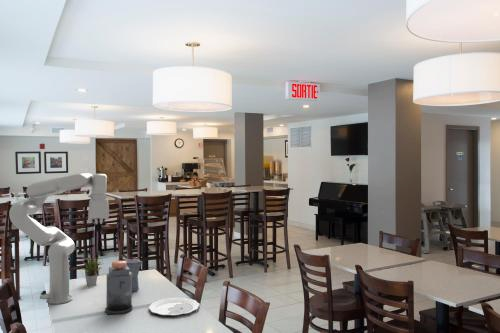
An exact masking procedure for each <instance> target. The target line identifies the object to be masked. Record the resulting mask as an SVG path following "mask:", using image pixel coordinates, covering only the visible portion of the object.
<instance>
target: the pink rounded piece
mask: <svg viewBox="0 0 500 333" xmlns="http://www.w3.org/2000/svg"><path fill="white" fill-rule="evenodd" d="M126 266H127V262H126V261H119V260H116V261H112V262H111V267H112V268H117V269H121V268H124V267H126Z"/></svg>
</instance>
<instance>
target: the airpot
mask: <svg viewBox="0 0 500 333" xmlns="http://www.w3.org/2000/svg"><path fill="white" fill-rule="evenodd" d="M132 295H133V294H132V273H131V272H130V269H129V268H128V267H127V266H126V267H124V268H121V269H117V268H112V266H109V267H108V273H107V274H106V301H105V302H106V305H105V313H106V314H107V315H110V316H111V315H112V316H119V315H125V314H128V313H131V312H132V311H133V309H134V307H133V304H132V302H133V300H132V299H133V298H132V297H133V296H132Z"/></svg>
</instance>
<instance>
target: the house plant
mask: <svg viewBox="0 0 500 333" xmlns="http://www.w3.org/2000/svg"><path fill="white" fill-rule="evenodd" d="M99 260H100V258H99V259H97V258H95V259H94V261H93V262H92V258H91V257H90V258H89V259H88V258H87V262H86V263H85V262H84V261H82V263H83V265H84V266H85V267H86V268H84V267H83V268H81V270H83V271H85V276H84V278H85V281H86V282H85V283H86V286H87V287H95V286H97V280H98V275H99V274H98V273H96V272H97V271H99V272H101V270H102V267H101V265H102V264H103V260H101V261H99ZM99 266H100V267H99Z"/></svg>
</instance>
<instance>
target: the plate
mask: <svg viewBox="0 0 500 333" xmlns="http://www.w3.org/2000/svg"><path fill="white" fill-rule="evenodd" d="M182 303H188V304H191V305H192V306H193V309H192V310H191V311H189V312H186V313H181V314H168V313H169V312H170V311H171V310H169V309H170V308H174V305H176V304H182ZM200 305H201V304H200V303H199V302H198V301H197V300H195V299H191V298H189V297H169V298H161V299H159V300H156V301H154V302H151V304H150V305H149V306H148V309H149V311H150V313H153V314H156V315H160V316H164V317H177V316H176V315H179V316H182V315H183V314H184V315H188V314H191V313H193V312H195V311H197V310H198V309H199V307H200ZM168 310H169V311H168ZM184 315H183V316H184Z"/></svg>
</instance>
